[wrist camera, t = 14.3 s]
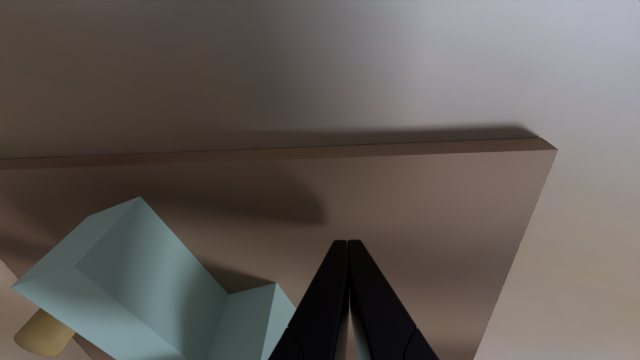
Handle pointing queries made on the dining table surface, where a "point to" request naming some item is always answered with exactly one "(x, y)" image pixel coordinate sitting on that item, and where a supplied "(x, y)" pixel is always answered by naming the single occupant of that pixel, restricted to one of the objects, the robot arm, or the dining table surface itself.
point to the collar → (150, 293)
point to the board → (302, 220)
